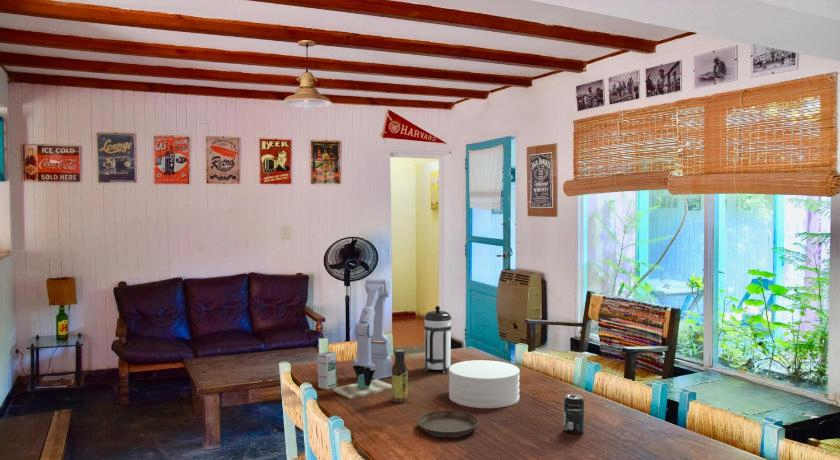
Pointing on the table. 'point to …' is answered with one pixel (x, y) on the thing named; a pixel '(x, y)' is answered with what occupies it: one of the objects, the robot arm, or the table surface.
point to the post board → (355, 392)
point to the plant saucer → (448, 423)
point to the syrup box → (327, 370)
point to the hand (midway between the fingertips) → (364, 384)
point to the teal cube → (362, 382)
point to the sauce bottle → (399, 378)
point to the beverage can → (573, 413)
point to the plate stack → (484, 383)
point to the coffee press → (437, 340)
